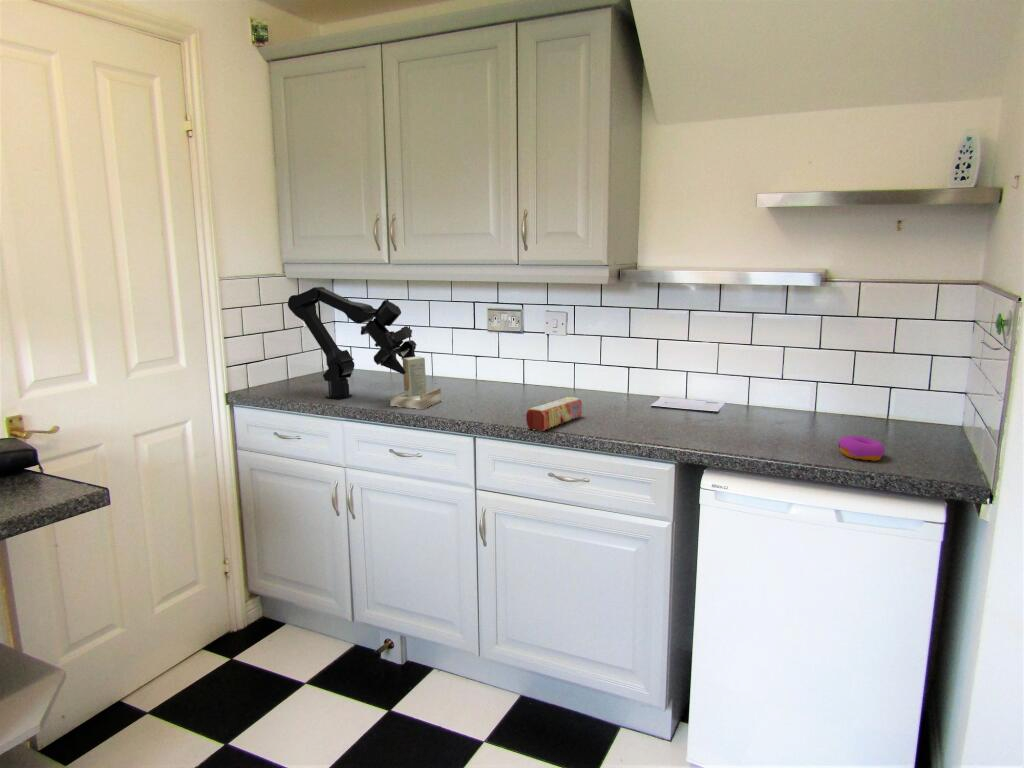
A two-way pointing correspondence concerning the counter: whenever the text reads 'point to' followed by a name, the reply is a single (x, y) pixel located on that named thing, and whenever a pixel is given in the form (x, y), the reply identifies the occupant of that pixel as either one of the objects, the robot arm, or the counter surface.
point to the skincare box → (414, 376)
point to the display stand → (417, 399)
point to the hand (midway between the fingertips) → (412, 371)
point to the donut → (861, 448)
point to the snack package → (553, 413)
